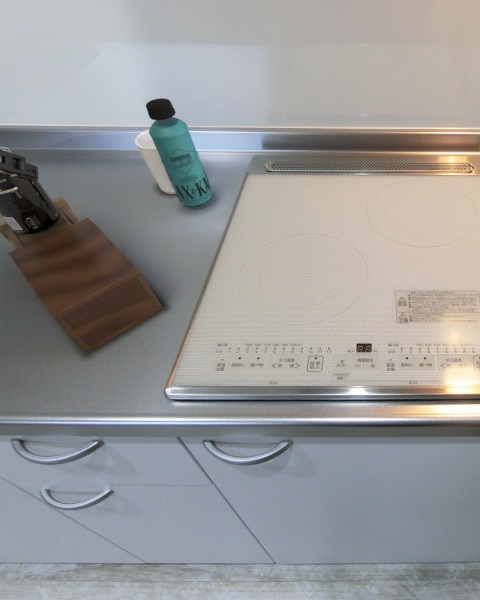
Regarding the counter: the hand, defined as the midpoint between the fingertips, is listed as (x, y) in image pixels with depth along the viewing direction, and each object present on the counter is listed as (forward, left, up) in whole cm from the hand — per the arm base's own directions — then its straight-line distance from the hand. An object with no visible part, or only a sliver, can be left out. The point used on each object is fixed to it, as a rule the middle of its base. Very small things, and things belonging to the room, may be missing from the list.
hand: (11, 173), depth 64 cm
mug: (-7, +24, -16) cm, 30 cm away
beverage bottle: (+3, +23, -16) cm, 28 cm away
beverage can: (+1, -1, -9) cm, 9 cm away
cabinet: (+15, -1, -16) cm, 22 cm away
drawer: (+1, -1, -15) cm, 15 cm away
